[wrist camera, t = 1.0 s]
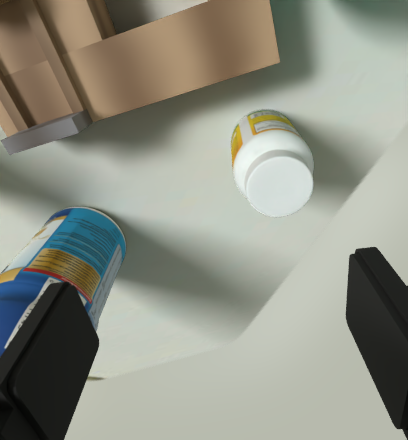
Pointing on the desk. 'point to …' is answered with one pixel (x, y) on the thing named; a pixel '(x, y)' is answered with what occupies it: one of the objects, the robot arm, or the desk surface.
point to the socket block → (116, 61)
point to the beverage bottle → (62, 266)
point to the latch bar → (4, 1)
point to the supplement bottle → (271, 163)
